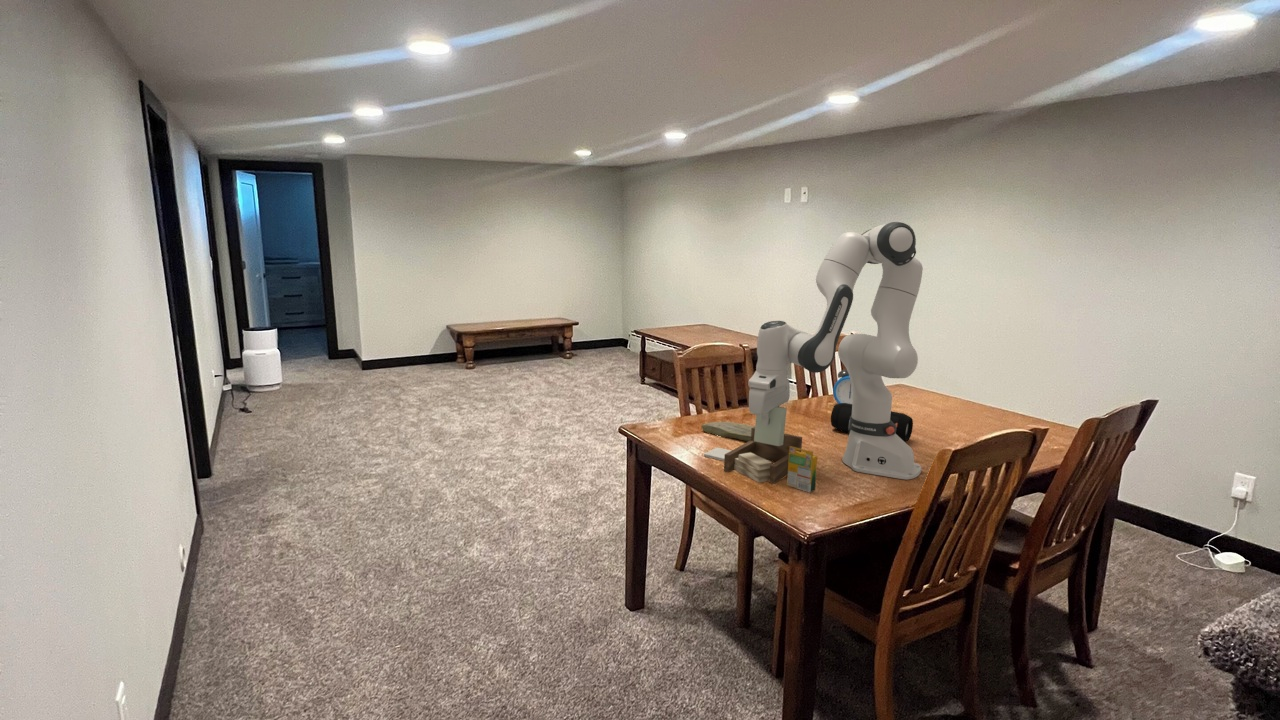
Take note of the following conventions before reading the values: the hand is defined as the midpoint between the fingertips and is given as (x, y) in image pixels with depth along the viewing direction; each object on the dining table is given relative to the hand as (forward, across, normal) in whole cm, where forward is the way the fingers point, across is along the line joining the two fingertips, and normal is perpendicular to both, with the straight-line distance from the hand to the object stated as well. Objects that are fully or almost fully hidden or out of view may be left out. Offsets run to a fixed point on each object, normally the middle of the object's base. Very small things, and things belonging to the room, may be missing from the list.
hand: (769, 422), depth 197 cm
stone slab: (+14, -22, -18) cm, 32 cm away
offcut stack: (+14, +9, 0) cm, 16 cm away
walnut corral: (+14, +4, 0) cm, 14 cm away
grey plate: (+13, 0, -14) cm, 19 cm away
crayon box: (+14, +10, +15) cm, 22 cm away
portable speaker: (+15, -50, +15) cm, 54 cm away
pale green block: (+6, +1, 0) cm, 6 cm away
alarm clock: (+15, -82, -3) cm, 83 cm away
